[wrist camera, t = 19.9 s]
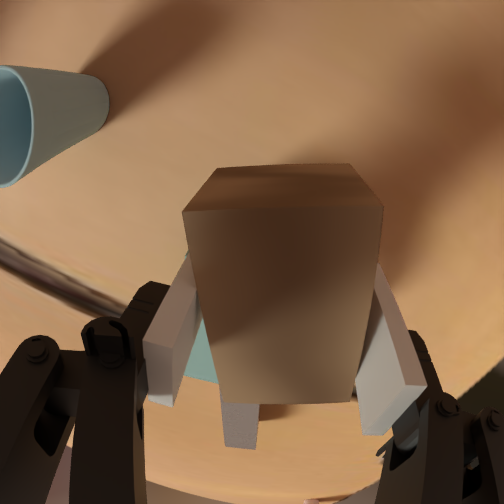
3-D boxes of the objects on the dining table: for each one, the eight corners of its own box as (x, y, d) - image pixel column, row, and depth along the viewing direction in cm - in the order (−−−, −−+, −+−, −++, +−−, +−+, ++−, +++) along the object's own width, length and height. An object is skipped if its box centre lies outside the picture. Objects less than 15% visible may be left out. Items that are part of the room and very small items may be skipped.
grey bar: (230, 416, 40) (225, 446, 36) (225, 275, 28) (213, 310, 24) (258, 419, 40) (255, 449, 35) (269, 278, 28) (265, 314, 24)
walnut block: (237, 328, 16) (223, 402, 12) (216, 168, 12) (181, 211, 8) (338, 327, 15) (349, 401, 11) (349, 163, 11) (383, 205, 7)
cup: (139, 98, 21) (53, 113, 12) (88, 166, 24) (6, 212, 15) (84, 46, 19) (-7, 44, 10) (41, 114, 22) (-45, 141, 13)
